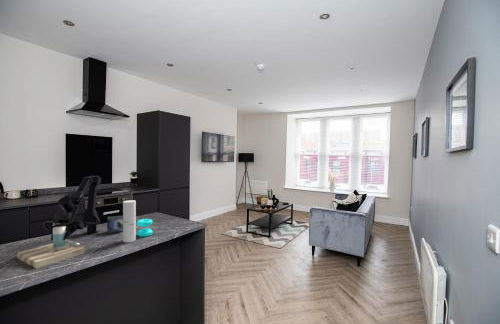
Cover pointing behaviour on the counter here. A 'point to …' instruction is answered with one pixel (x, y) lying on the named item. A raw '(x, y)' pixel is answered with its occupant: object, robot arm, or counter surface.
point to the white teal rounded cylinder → (59, 238)
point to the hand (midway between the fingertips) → (57, 239)
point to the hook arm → (72, 243)
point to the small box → (114, 224)
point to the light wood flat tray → (47, 255)
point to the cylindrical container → (129, 221)
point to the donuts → (145, 231)
